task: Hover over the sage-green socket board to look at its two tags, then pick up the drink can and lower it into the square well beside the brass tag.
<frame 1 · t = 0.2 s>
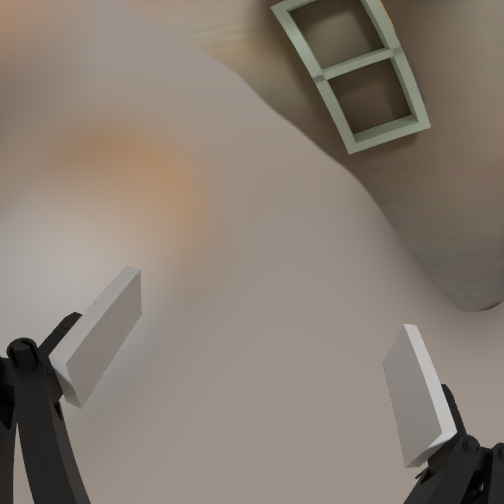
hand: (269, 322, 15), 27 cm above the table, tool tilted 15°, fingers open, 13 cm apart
socket board: (355, 61, 27), on the table
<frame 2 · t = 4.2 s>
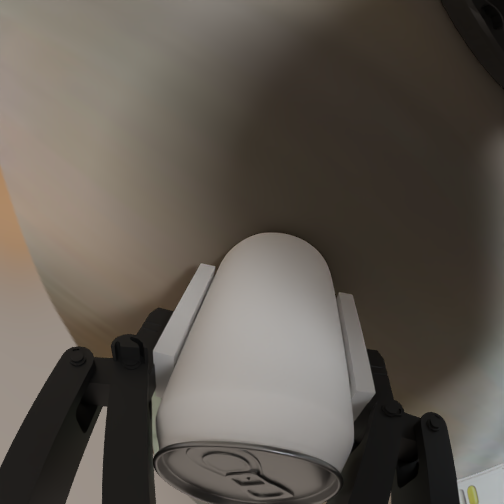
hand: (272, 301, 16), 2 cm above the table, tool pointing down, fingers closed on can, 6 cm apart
supplement box: (468, 483, 32), on the table
can: (274, 280, 18), on the table, touching gripper
socket board: (214, 423, 25), on the table
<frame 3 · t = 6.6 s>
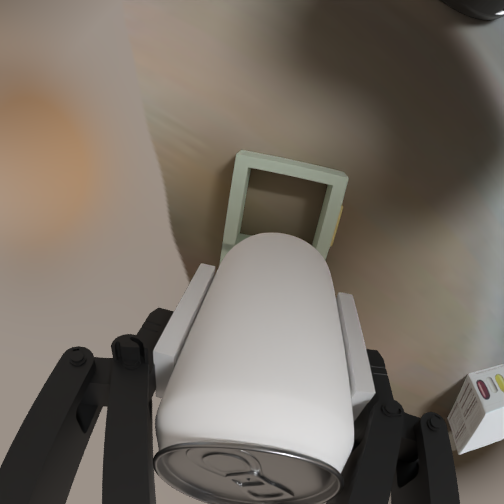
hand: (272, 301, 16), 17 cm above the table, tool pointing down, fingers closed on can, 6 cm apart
supplement box: (492, 385, 40), on the table
can: (274, 280, 18), point 14 cm above the table, touching gripper
socket board: (274, 244, 33), on the table
when the fingers open (4 cm above the table, at t = 9.2 s): can drops 2 cm, resting in socket board.
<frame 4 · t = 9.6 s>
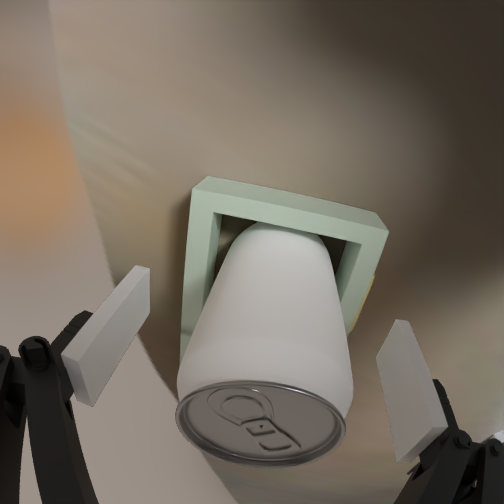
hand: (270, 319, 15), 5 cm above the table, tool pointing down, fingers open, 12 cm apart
can: (278, 263, 20), resting in socket board
socket board: (263, 318, 22), on the table
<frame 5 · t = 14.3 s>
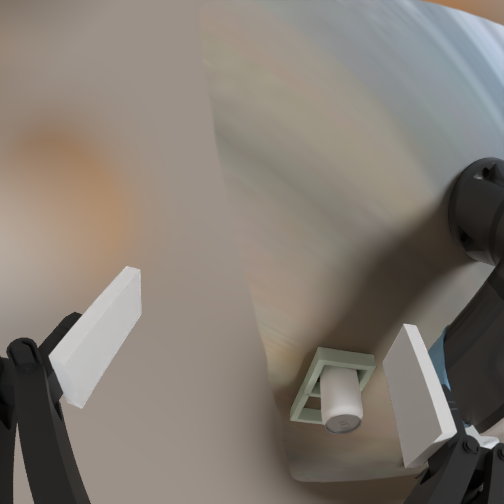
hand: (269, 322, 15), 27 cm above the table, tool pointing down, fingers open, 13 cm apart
supplement box: (457, 434, 60), on the table
can: (337, 369, 51), resting in socket board
socket board: (329, 385, 53), on the table
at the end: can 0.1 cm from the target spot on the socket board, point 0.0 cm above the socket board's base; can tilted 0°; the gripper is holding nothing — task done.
